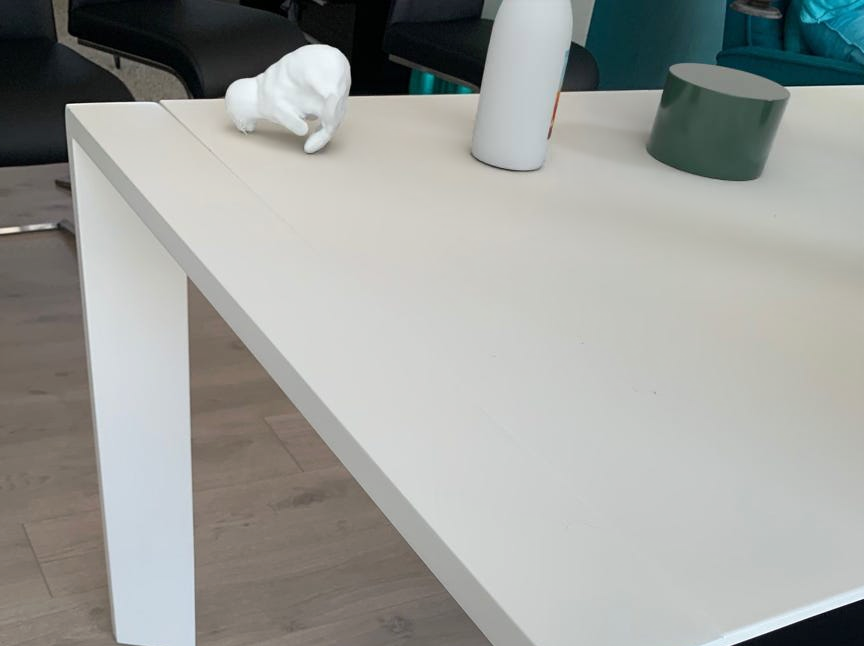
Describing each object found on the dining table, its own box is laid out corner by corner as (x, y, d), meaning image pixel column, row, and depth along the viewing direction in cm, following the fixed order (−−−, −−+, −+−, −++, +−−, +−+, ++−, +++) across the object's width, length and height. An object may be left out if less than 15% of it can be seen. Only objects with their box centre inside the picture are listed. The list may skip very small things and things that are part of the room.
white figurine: (344, 56, 90) (212, 45, 91) (342, 158, 96) (218, 147, 97) (356, 41, 95) (231, 31, 96) (354, 139, 101) (236, 129, 102)
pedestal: (772, 162, 116) (800, 86, 111) (748, 190, 107) (778, 107, 102) (664, 132, 120) (686, 56, 114) (632, 156, 111) (655, 75, 105)
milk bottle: (534, 178, 100) (589, -64, 87) (460, 160, 101) (503, -82, 88) (550, 158, 106) (603, -73, 93) (479, 141, 107) (522, -89, 94)
